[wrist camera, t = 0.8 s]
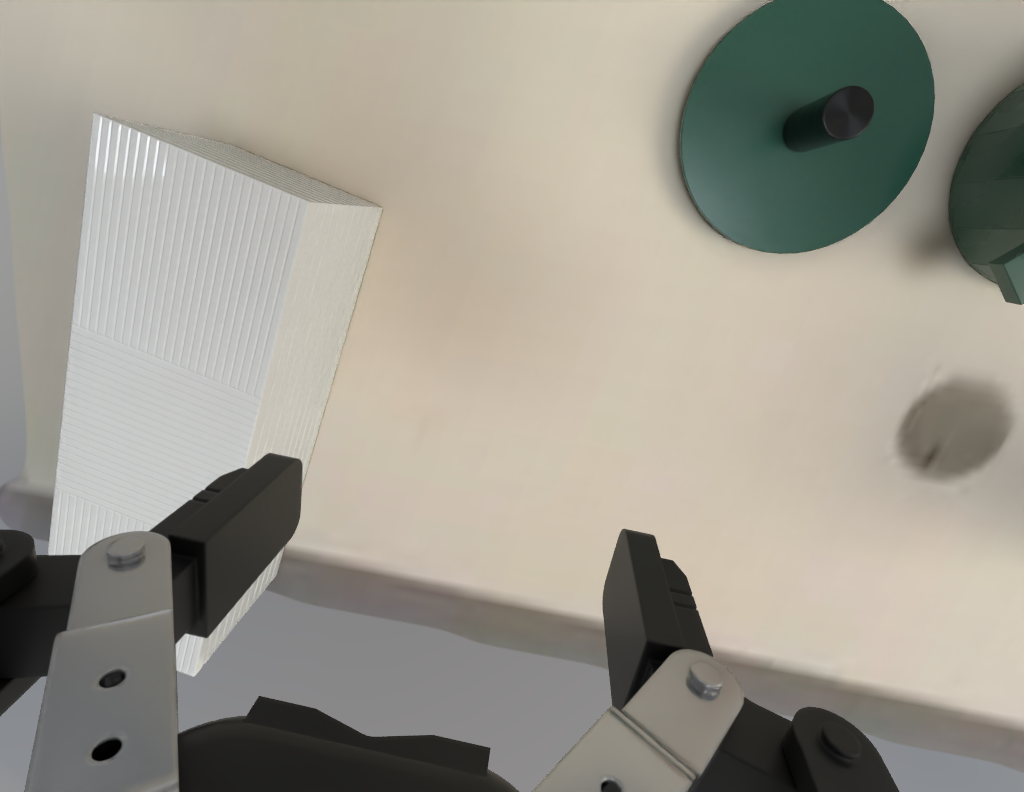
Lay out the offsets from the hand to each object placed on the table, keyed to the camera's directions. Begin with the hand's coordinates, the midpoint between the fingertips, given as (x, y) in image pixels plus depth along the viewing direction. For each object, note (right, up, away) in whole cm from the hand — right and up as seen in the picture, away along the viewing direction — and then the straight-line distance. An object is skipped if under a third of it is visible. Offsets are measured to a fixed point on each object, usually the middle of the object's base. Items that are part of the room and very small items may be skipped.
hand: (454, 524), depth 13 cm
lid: (+18, +19, +18) cm, 32 cm away
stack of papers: (-18, +4, +27) cm, 33 cm away
